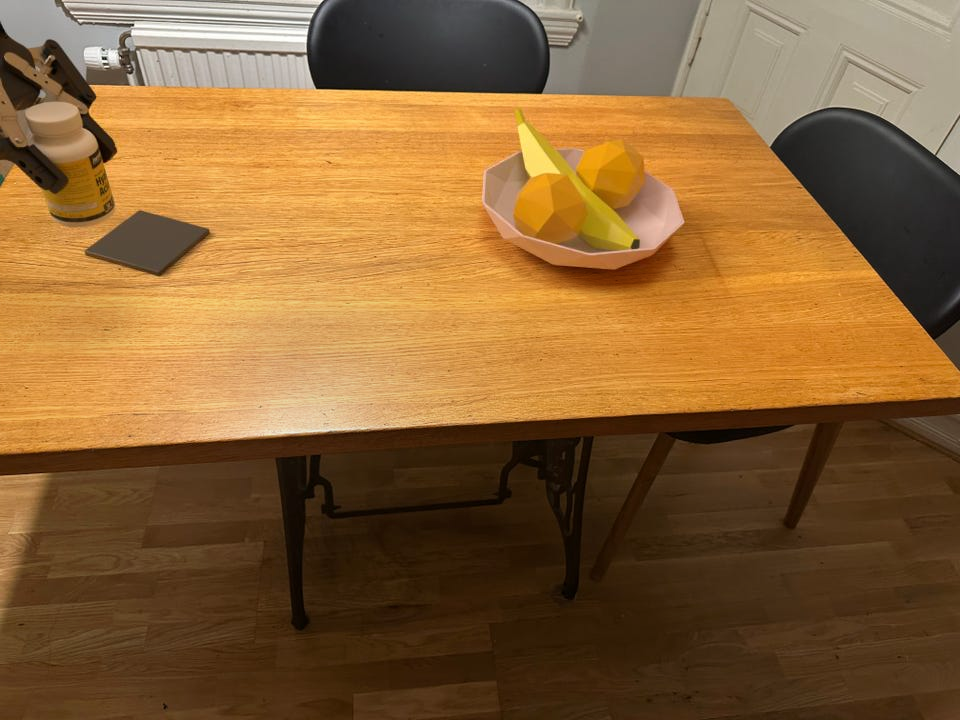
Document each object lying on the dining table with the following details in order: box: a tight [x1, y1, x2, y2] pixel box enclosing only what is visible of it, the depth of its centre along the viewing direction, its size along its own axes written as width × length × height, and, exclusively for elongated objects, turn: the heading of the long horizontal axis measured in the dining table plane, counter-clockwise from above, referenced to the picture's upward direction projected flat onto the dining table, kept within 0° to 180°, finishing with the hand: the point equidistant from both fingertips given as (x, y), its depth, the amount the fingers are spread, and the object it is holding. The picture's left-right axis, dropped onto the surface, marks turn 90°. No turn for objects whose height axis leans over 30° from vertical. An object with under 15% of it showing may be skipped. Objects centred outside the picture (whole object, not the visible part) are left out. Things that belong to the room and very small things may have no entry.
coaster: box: [83, 209, 211, 277], centre depth 84 cm, size 10×10×1 cm
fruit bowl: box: [481, 108, 686, 270], centre depth 91 cm, size 28×27×11 cm
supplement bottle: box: [24, 102, 116, 229], centre depth 61 cm, size 5×5×10 cm
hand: (87, 171), depth 61 cm, fingers closed on supplement bottle, 5 cm apart
